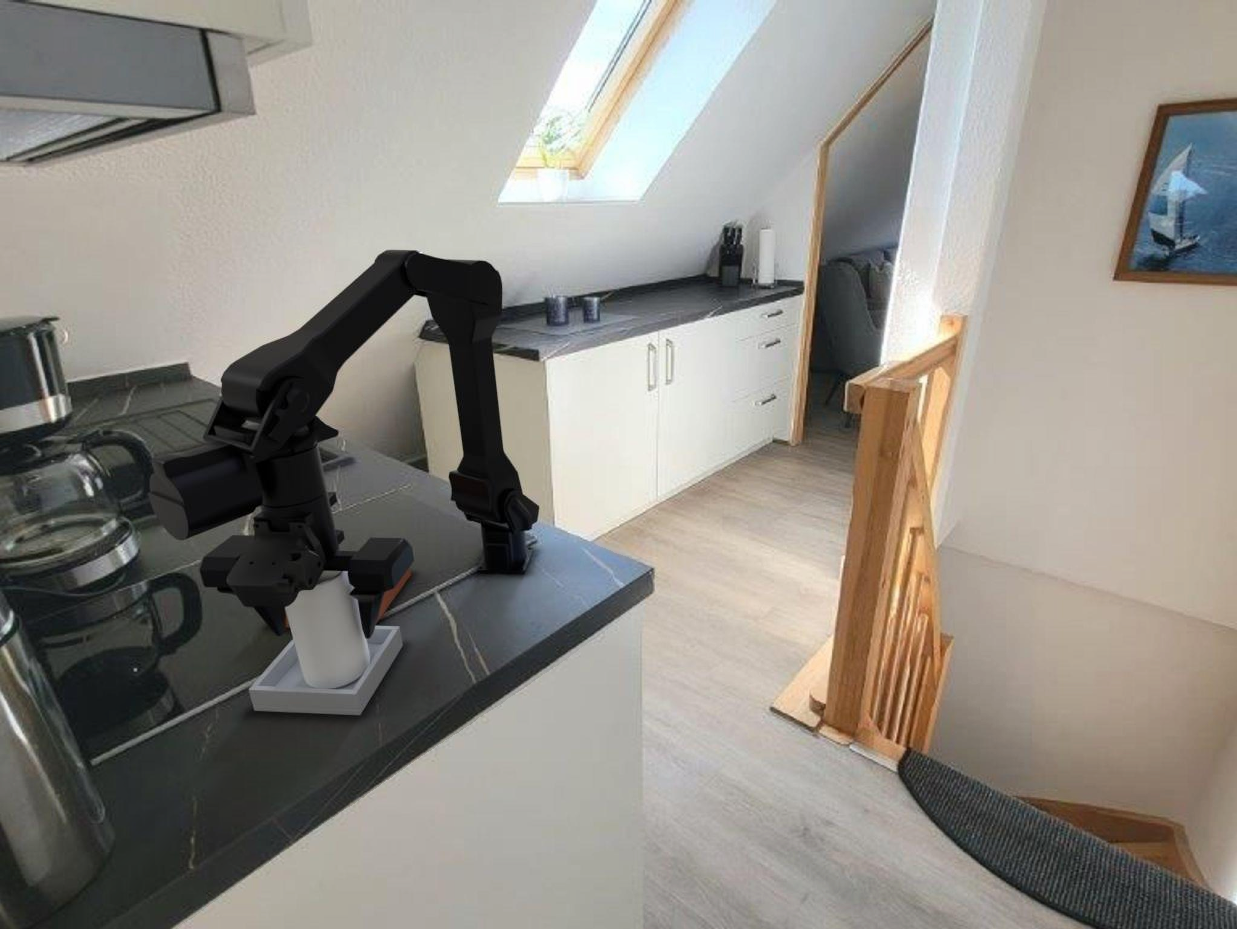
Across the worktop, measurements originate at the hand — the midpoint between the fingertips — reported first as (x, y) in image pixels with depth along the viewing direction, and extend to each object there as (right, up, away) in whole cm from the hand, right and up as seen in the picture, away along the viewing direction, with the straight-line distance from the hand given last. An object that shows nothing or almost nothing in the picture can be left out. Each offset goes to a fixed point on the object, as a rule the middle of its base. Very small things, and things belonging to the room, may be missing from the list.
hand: (325, 635), depth 66 cm
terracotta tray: (-4, 0, +15) cm, 16 cm away
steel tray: (0, -5, +2) cm, 5 cm away
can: (+1, -4, +2) cm, 5 cm away
